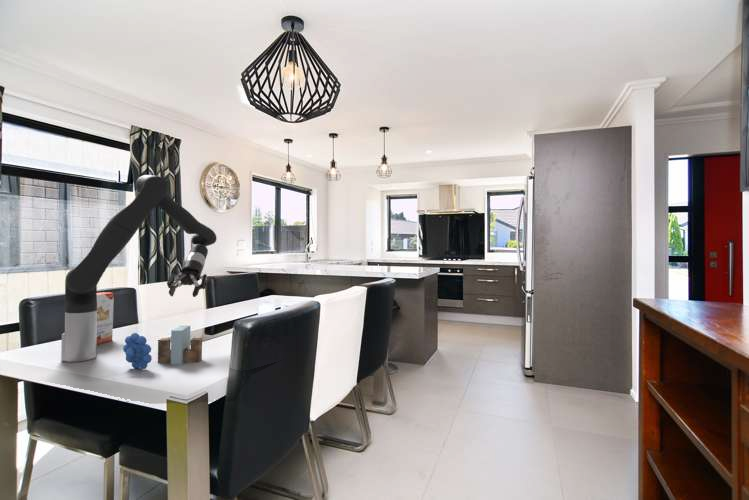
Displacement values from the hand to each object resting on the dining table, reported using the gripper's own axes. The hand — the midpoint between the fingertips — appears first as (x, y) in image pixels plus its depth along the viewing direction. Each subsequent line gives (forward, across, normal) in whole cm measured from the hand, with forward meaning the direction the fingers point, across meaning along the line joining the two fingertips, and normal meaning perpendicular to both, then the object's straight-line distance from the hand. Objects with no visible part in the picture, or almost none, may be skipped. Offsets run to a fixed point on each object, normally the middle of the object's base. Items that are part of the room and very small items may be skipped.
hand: (182, 295), depth 151 cm
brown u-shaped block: (+25, +5, +7) cm, 26 cm away
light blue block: (+25, +5, +7) cm, 26 cm away
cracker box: (+6, -40, +26) cm, 48 cm away
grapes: (+31, -6, +1) cm, 32 cm away
